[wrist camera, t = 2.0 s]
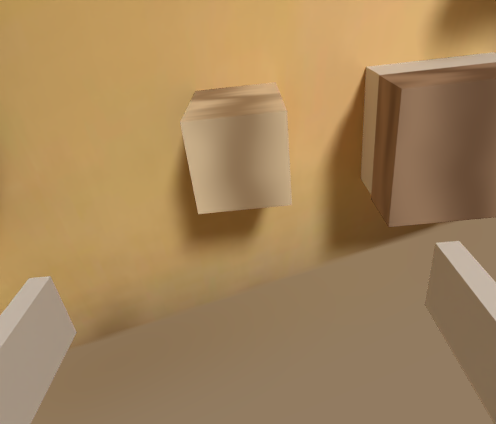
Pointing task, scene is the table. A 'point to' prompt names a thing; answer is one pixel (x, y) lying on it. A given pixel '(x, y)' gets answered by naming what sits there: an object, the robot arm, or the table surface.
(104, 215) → the table surface
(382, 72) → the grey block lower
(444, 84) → the walnut block upper
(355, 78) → the table surface
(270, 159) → the oak block
